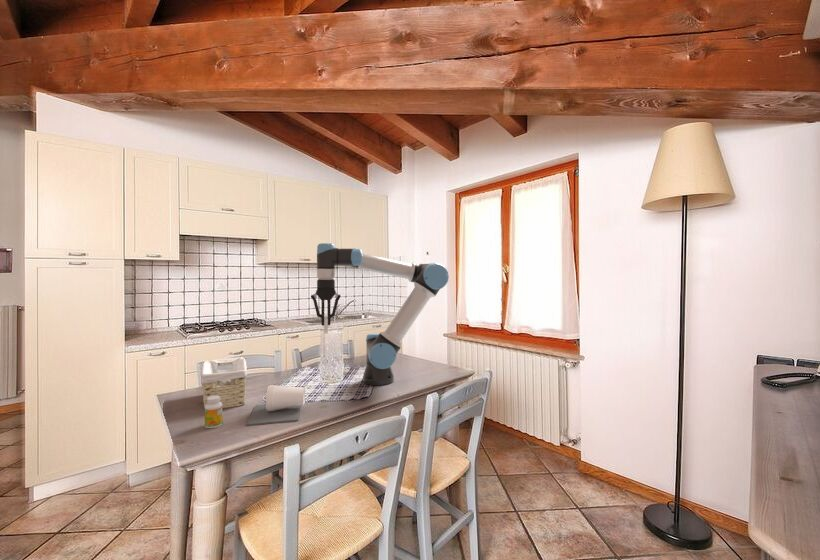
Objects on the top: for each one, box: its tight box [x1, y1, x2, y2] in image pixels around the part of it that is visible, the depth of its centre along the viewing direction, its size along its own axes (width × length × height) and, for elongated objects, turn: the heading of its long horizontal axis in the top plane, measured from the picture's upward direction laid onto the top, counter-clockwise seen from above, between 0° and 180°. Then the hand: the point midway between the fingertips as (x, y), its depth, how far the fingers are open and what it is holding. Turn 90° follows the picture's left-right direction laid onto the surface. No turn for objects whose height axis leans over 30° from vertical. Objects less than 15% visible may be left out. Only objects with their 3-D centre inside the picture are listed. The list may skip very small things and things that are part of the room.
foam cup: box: [265, 384, 306, 412], centre depth 136 cm, size 10×9×13 cm
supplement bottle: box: [204, 396, 224, 429], centre depth 123 cm, size 5×5×10 cm
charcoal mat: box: [246, 403, 301, 427], centre depth 133 cm, size 17×18×1 cm
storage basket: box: [200, 356, 248, 409], centre depth 147 cm, size 24×16×15 cm
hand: (325, 332), depth 156 cm, fingers closed
